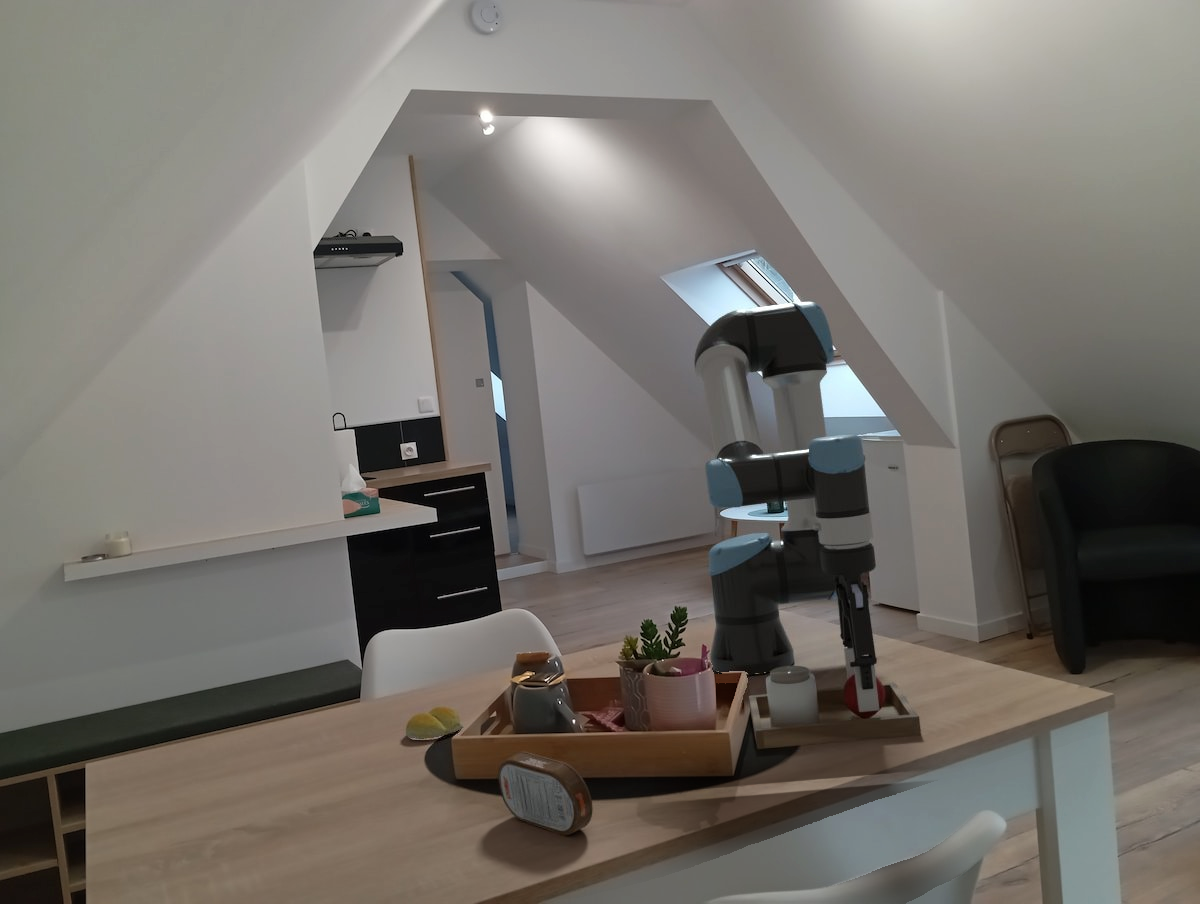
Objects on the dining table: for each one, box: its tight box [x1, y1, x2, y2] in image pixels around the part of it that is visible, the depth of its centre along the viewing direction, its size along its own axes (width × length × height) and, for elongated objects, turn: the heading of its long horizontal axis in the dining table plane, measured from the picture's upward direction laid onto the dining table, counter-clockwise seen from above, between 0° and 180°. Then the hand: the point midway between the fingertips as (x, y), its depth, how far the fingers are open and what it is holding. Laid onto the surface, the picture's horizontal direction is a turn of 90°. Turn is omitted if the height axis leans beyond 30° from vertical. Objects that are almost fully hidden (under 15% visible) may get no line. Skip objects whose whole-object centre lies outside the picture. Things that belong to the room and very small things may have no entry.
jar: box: [765, 665, 820, 727], centre depth 144 cm, size 7×7×8 cm
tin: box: [497, 751, 594, 836], centre depth 122 cm, size 15×3×8 cm, turn 44°
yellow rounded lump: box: [405, 706, 463, 739], centre depth 164 cm, size 8×9×4 cm
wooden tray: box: [748, 681, 922, 750], centre depth 143 cm, size 16×22×4 cm
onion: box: [843, 674, 885, 719], centre depth 142 cm, size 6×6×8 cm
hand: (863, 700), depth 143 cm, fingers open, 8 cm apart
